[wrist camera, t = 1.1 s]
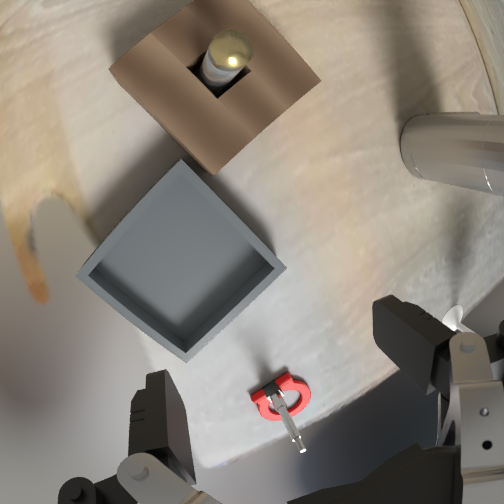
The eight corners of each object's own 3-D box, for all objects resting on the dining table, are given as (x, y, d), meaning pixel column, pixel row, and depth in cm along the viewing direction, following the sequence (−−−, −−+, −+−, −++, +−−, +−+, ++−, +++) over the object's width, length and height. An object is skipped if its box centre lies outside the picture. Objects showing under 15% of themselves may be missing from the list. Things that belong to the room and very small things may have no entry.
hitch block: (216, 5, 28) (226, -19, 22) (297, 90, 33) (321, 80, 28) (117, 82, 28) (108, 68, 23) (206, 171, 34) (214, 175, 28)
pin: (211, 62, 30) (233, 22, 19) (231, 83, 31) (262, 51, 20) (189, 81, 30) (200, 46, 19) (209, 101, 31) (230, 76, 20)
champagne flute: (439, 342, 53) (525, 410, 31) (439, 317, 50) (535, 385, 28) (462, 324, 54) (547, 383, 31) (462, 298, 51) (556, 357, 29)
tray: (180, 158, 32) (181, 159, 29) (276, 258, 39) (287, 268, 35) (83, 264, 33) (75, 275, 30) (184, 346, 39) (186, 363, 36)
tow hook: (316, 395, 48) (291, 365, 44) (352, 452, 37) (330, 429, 33) (273, 422, 48) (243, 397, 44) (302, 482, 36) (270, 465, 32)
